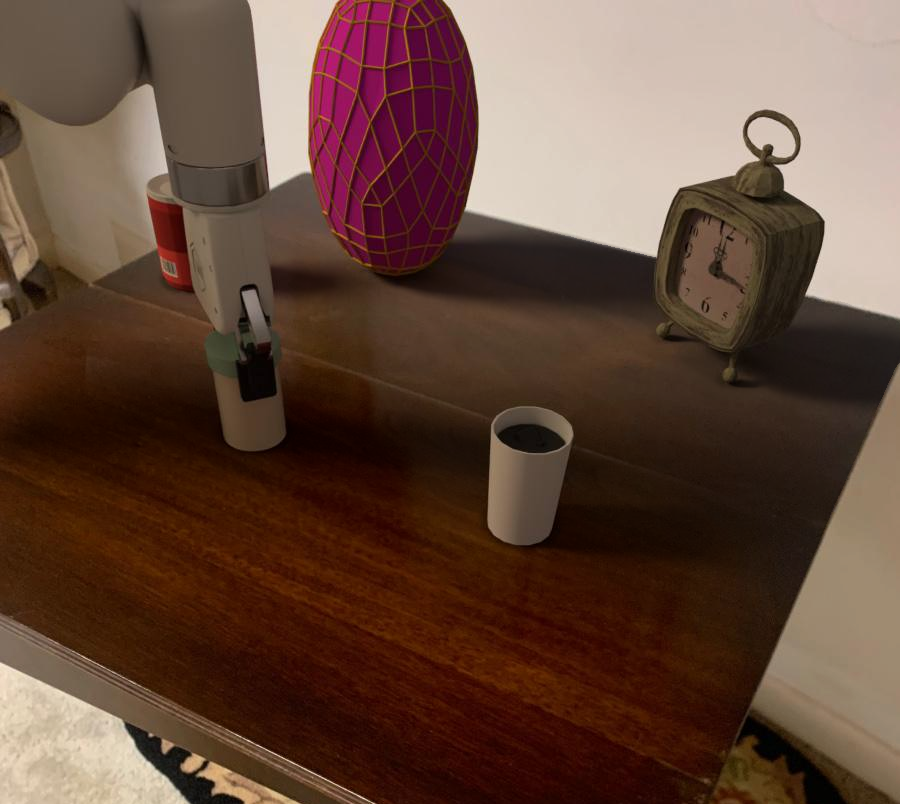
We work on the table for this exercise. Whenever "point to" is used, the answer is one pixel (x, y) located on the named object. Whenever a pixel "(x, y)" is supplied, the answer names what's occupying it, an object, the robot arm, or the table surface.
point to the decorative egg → (392, 130)
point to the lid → (233, 351)
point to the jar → (250, 416)
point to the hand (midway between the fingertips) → (247, 375)
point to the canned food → (169, 233)
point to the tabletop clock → (737, 254)
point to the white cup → (526, 472)
